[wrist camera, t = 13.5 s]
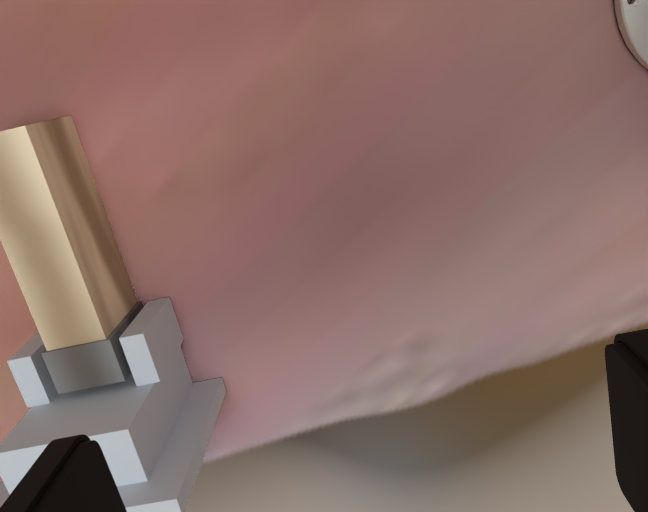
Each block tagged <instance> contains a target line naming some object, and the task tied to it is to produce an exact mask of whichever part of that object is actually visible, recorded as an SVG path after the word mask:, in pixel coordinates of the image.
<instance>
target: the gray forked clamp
mask: <svg viewBox="0 0 648 512" xmlns="http://www.w3.org/2000/svg"><path fill="white" fill-rule="evenodd" d="M119 340H120V343H121V345H122V348H123V351H124V354H125V356H126V359H127V362H128V364H129V367H130V370H131V373H130V375H129V376H128V378H127V379H126V381H123V382H118V383H113V384H108V385H102V386H97V387H92V388H87V389H82V390H77V391H72V392H67V393H62V394H58V392H57V390H56V388H55V385H54V383H53V381H52V378H51V376H50V373H49V371H48V369H47V366H46V364H45V362H44V359H43V357H42V354H41V353H42V352H43V351H44V350H45V349H46V348H45V345H44V343H43V340H42V338H41V336H40V333H39V332H38V333H37V334H36V335H35V336H34V337H33V338H32V339H31V340H29V341H28V342H27V343H26V344H25V345H24V346H23V347H22V348H21V349H20V350H18V351H17V352H16V353H15V354H14V355H13V356H12V357H11V358H10V359H9V360H7V362H8V365H9V367H10V369H11V371H12V374H13V376H14V378H15V380H16V383H17V385H18V387H19V389H20V392H21V394H22V396H23V399H24V401H25V403H26V405H27V408H28V407H32V408H31V409H30V411H29V412H28V413H27V414H26V415H25V416H24V417H23V418H22V420H21V421H20V422H19V423H18V424H17V425H16V426H15V428H14V429H13V430H12V431H11V432H10V433H9V434H8V435H7V437H6V438H5V439H4V440H3V441H2V442H1V443H0V476H1V478H2V480H3V481H2V483H1V484H0V507H1V506H2V505H3V503H4V502H5V501H6V499H7V498H8V497H9V495H10V494H11V493H12V491H13V490H14V489H15V488H16V486H17V485H18V484H19V482H20V481H21V480H22V478H23V477H24V476H25V474H26V473H27V472H28V470H29V469H30V468H31V466H32V465H33V464H34V462H35V461H36V460H37V458H38V457H39V456H40V455H41V453H42V452H43V451H44V449H45V448H46V447H47V445H48V444H49V443H50V442H51V441H52V440H55V439H60V438H65V437H70V436H76V435H81V434H84V435H86V436H88V437H89V438H90V440H95V441H97V442H98V443H99V445H100V447H101V449H102V452H103V454H104V457H105V459H106V462H107V464H108V466H109V469H110V471H111V474H112V476H113V479H114V481H115V484H116V486H117V489H118V491H119V493H120V496H121V498H122V501H123V503H124V506H125V508H126V511H127V512H185V509H186V506H187V503H188V500H189V497H190V495H191V491H192V489H193V486H194V483H195V480H196V477H197V474H198V471H199V469H200V466H201V463H202V460H203V457H204V454H205V451H206V448H207V445H208V443H209V440H210V437H211V434H212V431H213V428H214V425H215V422H216V419H217V417H218V414H219V411H220V408H221V405H222V402H223V399H224V396H225V394H226V388H225V385H224V382H223V379H222V377H221V378H216V379H210V380H205V381H200V382H195V383H193V382H192V379H191V376H190V373H189V370H188V367H187V364H186V361H185V358H184V355H183V352H182V349H181V344H182V342H183V340H184V339H183V336H182V333H181V330H180V327H179V324H178V321H177V318H176V315H175V312H174V309H173V306H172V303H171V300H170V297H166V298H161V299H156V300H151V301H148V302H147V303H146V305H145V306H144V307H143V309H142V310H141V311H140V312H139V314H138V315H137V316H136V317H135V319H134V320H133V321H132V322H131V324H130V325H129V326H128V327H127V329H126V330H125V331H124V332H123V334H122V335H121V336H120V338H119Z"/></svg>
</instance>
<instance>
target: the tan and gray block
mask: <svg viewBox="0 0 648 512" xmlns="http://www.w3.org/2000/svg"><path fill="white" fill-rule="evenodd" d="M0 240H1V242H2V245H3V247H4V249H5V252H6V254H7V257H8V259H9V261H10V264H11V266H12V269H13V271H14V273H15V276H16V278H17V281H18V283H19V285H20V288H21V290H22V292H23V295H24V297H25V300H26V302H27V304H28V307H29V309H30V312H31V314H32V316H33V319H34V321H35V324H36V326H37V328H38V331H39V333H40V336H41V338H42V340H43V343H44V345H45V348H46V349H45V350H44V351H43V352H42V353H41V354H42V357H43V359H44V362H45V364H46V366H47V369H48V371H49V373H50V376H51V378H52V381H53V383H54V385H55V388H56V390H57V392H58V394H62V393H67V392H72V391H77V390H82V389H87V388H92V387H97V386H102V385H108V384H113V383H118V382H123V381H126V379H127V378H128V376H129V375H130V373H131V370H130V367H129V364H128V362H127V359H126V356H125V354H124V351H123V348H122V345H121V343H120V340H119V338H120V336H121V335H122V334H123V332H124V331H125V330H126V329H127V327H128V326H129V325H130V324H131V322H132V321H133V320H134V319H135V317H136V316H137V315H138V314H139V312H140V311H141V310H142V309H143V305H142V302H141V301H139V302H137V299H136V297H135V294H134V291H133V288H132V285H131V283H130V280H129V277H128V274H127V271H126V268H125V266H124V263H123V260H122V257H121V254H120V252H119V249H118V246H117V243H116V240H115V238H114V235H113V232H112V229H111V226H110V223H109V221H108V218H107V215H106V212H105V209H104V207H103V204H102V201H101V198H100V195H99V192H98V190H97V187H96V184H95V181H94V178H93V176H92V173H91V170H90V167H89V164H88V162H87V159H86V156H85V153H84V150H83V147H82V145H81V142H80V139H79V136H78V133H77V131H76V128H75V125H74V122H73V119H72V117H71V116H67V117H62V118H58V119H53V120H48V121H44V122H39V123H35V124H30V125H25V126H21V127H17V128H13V129H9V130H5V131H1V132H0Z"/></svg>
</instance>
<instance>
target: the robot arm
mask: <svg viewBox="0 0 648 512" xmlns="http://www.w3.org/2000/svg"><path fill="white" fill-rule="evenodd" d="M615 12H616V16H617V21H618V26H619V29H620V32H621V34H622V36H623V38H624V41H625V43H626V45H627V47H628V48H629V50H630V51H631V52H632V54H633V55H634V56H635V58H636V59H637V60H638V62H639V63H641V64H642V65H643V66H644V67H645V68H646V69H648V0H632V2H631V3H630V4H628V2H627V0H615ZM605 360H606V371H607V381H608V391H609V402H610V413H611V424H612V435H613V446H614V456H615V468H616V475H617V479H618V482H619V485H620V488H621V490H622V492H623V494H624V496H625V497H626V499H627V501H628V502H629V504H630V505H631V507H632V508H633V510H634V511H635V512H648V329H644V330H638V331H633V332H627V333H622V334H617V335H616V336H615V339H614V344H610V345H606V347H605ZM0 512H127V511H126V508H125V506H124V503H123V501H122V498H121V496H120V493H119V491H118V489H117V486H116V484H115V481H114V479H113V476H112V474H111V471H110V469H109V466H108V464H107V462H106V459H105V457H104V454H103V452H102V449H101V447H100V445H99V443H98V442H97V441H95V440H90V438H89V437H88V436H86V435H84V434H81V435H76V436H70V437H65V438H60V439H55V440H52V441H51V442H50V443H49V444H48V445H47V447H46V448H45V449H44V451H43V452H42V453H41V455H40V456H39V457H38V458H37V460H36V461H35V462H34V464H33V465H32V466H31V468H30V469H29V470H28V472H27V473H26V474H25V476H24V477H23V478H22V480H21V481H20V482H19V484H18V485H17V486H16V488H15V489H14V490H13V491H12V493H11V494H10V495H9V497H8V498H7V499H6V501H5V502H4V503H3V505H2V506H1V507H0Z"/></svg>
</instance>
